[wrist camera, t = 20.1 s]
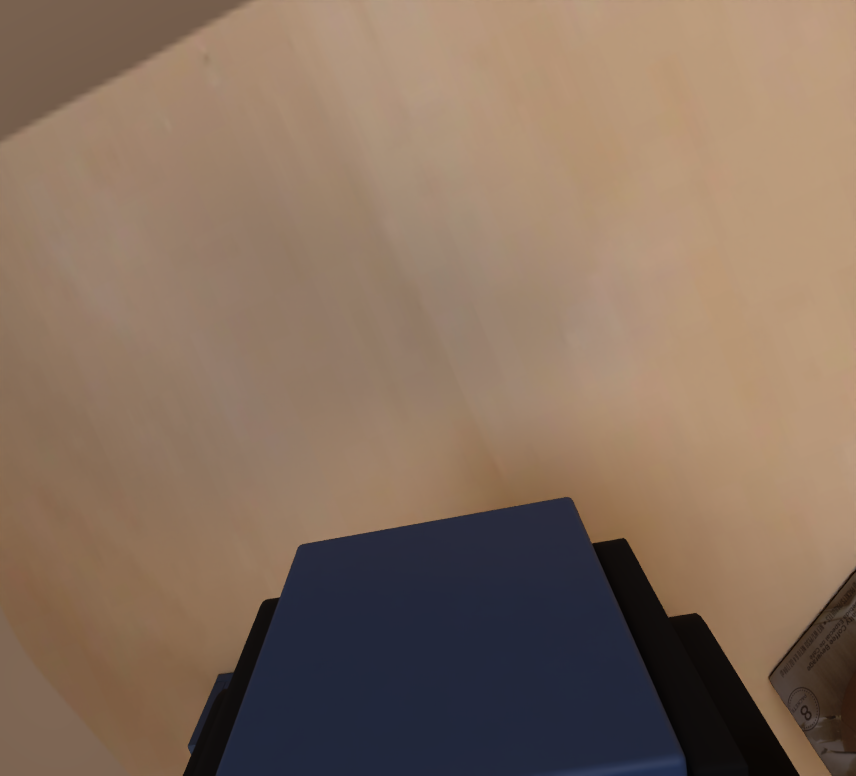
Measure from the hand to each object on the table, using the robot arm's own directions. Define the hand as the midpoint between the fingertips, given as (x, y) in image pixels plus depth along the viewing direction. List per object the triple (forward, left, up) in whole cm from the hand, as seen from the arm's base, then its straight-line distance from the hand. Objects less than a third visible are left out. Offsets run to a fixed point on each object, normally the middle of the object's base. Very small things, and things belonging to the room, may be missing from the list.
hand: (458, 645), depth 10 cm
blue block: (0, 0, 0) cm, 0 cm away
